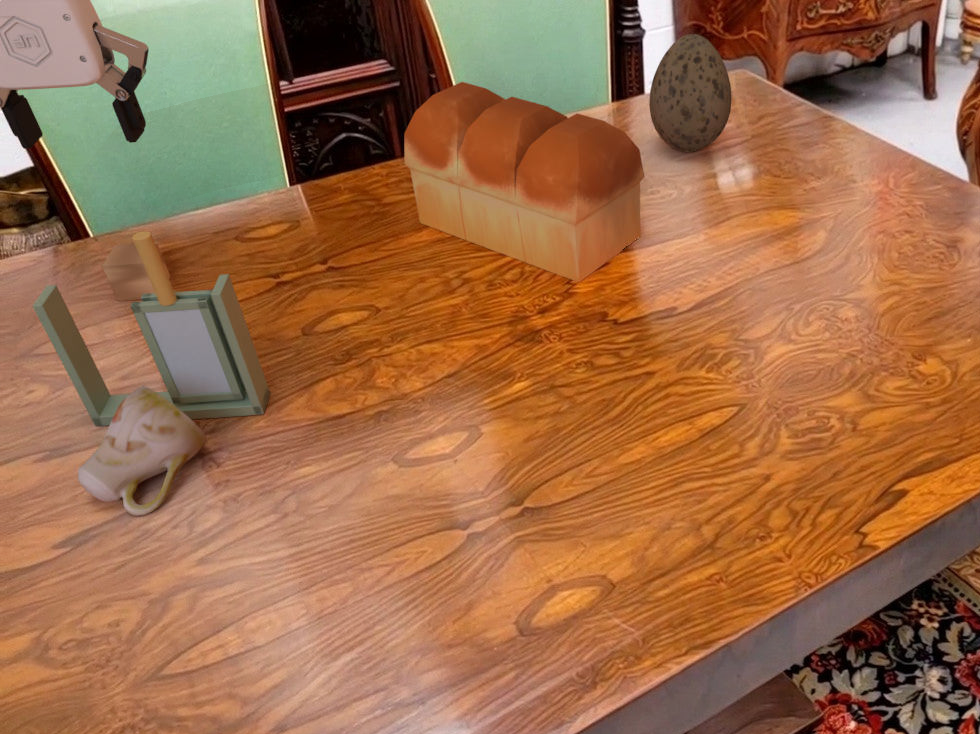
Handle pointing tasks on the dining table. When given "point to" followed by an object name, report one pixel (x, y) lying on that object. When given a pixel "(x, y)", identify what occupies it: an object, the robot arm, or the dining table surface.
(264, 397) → the window frame
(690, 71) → the decorative egg
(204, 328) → the window pane
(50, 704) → the dining table surface
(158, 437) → the mug
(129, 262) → the block
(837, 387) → the dining table surface
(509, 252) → the bread
